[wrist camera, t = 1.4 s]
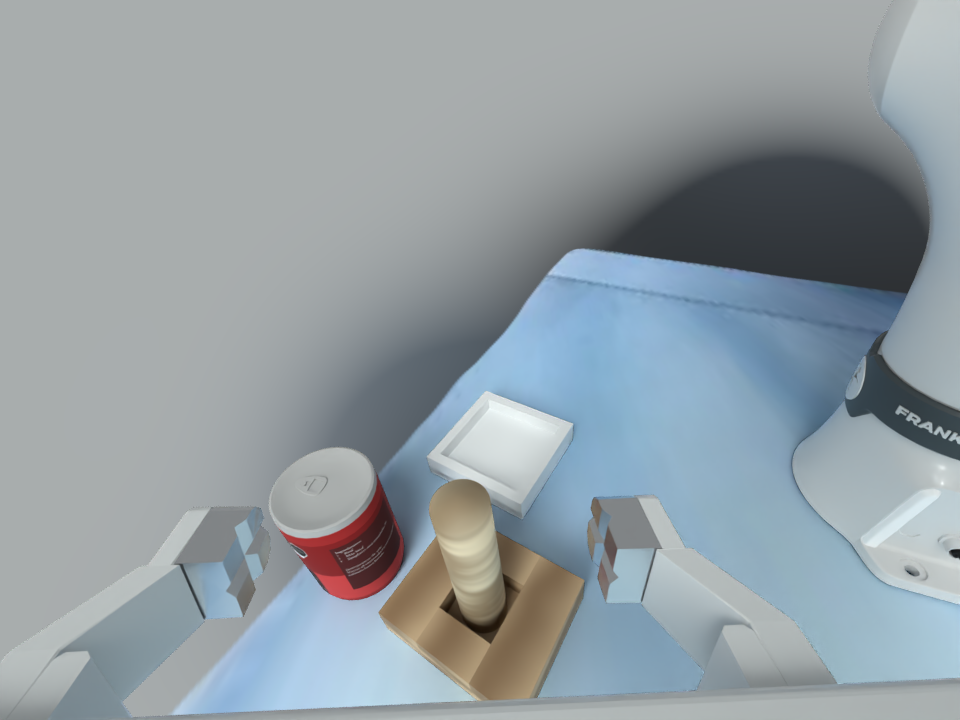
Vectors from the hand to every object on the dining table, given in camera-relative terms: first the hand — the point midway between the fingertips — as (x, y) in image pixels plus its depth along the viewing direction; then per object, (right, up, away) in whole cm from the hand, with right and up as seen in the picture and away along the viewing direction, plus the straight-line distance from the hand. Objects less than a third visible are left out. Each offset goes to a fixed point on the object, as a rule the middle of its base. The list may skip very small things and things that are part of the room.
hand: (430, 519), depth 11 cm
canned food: (-9, -14, +29) cm, 33 cm away
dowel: (+2, -15, +23) cm, 28 cm away
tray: (+4, -6, +36) cm, 37 cm away
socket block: (+2, -16, +24) cm, 29 cm away
